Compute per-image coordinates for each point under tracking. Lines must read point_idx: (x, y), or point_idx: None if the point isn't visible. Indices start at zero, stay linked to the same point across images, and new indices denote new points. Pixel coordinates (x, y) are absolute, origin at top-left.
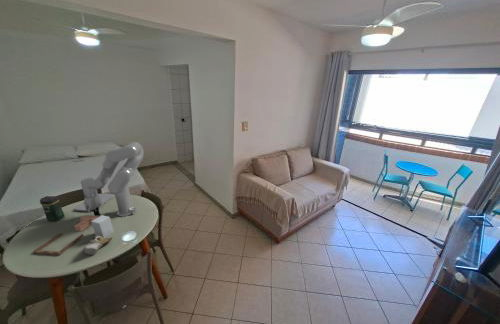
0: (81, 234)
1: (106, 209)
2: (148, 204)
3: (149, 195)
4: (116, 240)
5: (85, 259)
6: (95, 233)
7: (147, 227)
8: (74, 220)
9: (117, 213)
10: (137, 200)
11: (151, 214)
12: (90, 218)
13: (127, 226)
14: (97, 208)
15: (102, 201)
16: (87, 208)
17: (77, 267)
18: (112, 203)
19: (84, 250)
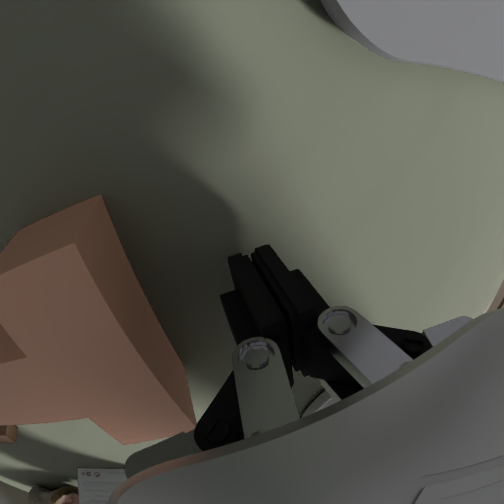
0: (5, 436)
1: (408, 204)
2: None
3: (499, 307)
4: None
5: (28, 486)
6: (80, 494)
7: None
8: (15, 23)
9: (326, 405)
10: (479, 306)
11: None
12: (102, 416)
13: None
14: (338, 399)
15: (500, 46)
16: (177, 494)
17: (9, 484)
18: (486, 156)
19: (29, 500)
